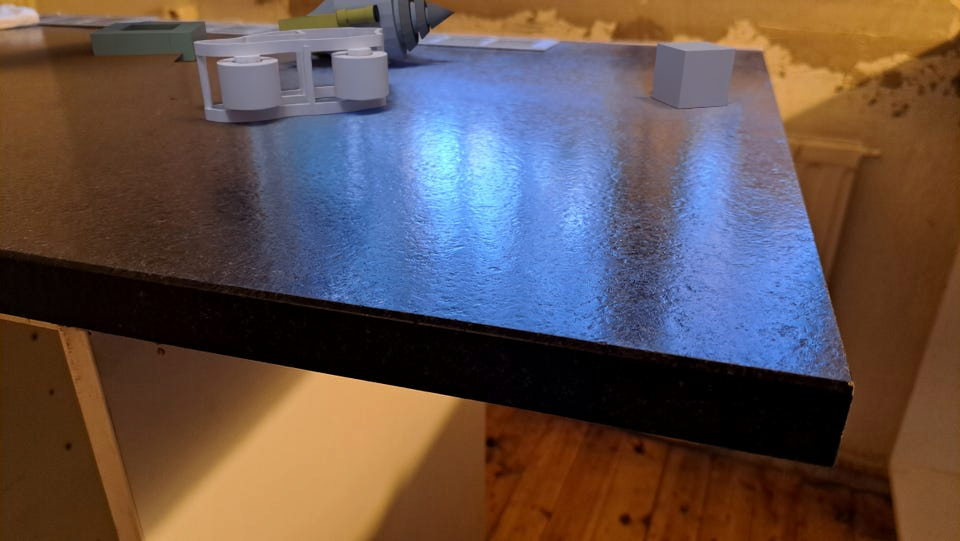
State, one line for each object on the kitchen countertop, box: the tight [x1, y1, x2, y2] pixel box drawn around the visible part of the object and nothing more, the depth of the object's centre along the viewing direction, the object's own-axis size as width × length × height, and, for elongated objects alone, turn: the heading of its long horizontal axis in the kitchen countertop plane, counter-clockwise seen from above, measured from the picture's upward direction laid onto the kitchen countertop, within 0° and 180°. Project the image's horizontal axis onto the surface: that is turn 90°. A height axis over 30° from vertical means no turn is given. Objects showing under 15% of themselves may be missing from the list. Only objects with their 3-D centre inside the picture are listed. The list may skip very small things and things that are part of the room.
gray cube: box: [651, 40, 737, 110], centre depth 78 cm, size 6×6×6 cm
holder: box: [89, 20, 209, 63], centre depth 105 cm, size 13×13×4 cm
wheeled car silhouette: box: [193, 27, 390, 123], centre depth 73 cm, size 20×11×7 cm, turn 115°
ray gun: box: [277, 0, 456, 65], centre depth 99 cm, size 11×24×20 cm
